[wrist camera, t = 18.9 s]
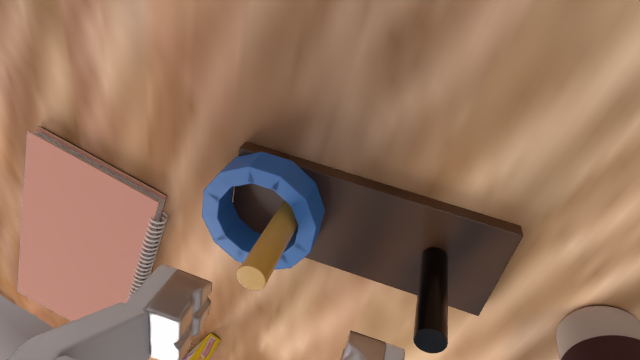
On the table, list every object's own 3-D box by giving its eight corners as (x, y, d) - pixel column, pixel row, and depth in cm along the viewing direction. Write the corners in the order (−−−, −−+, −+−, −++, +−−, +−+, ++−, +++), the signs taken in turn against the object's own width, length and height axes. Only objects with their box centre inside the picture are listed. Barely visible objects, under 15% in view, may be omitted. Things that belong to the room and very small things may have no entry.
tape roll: (214, 230, 45) (199, 248, 43) (222, 138, 40) (206, 152, 37) (311, 263, 44) (302, 284, 41) (334, 173, 39) (325, 190, 36)
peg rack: (235, 224, 46) (177, 298, 36) (245, 141, 41) (182, 201, 31) (477, 305, 43) (486, 411, 33) (521, 226, 38) (546, 322, 28)
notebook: (132, 340, 61) (122, 351, 59) (27, 283, 61) (15, 292, 59) (176, 199, 47) (166, 209, 45) (40, 125, 47) (25, 132, 45)
